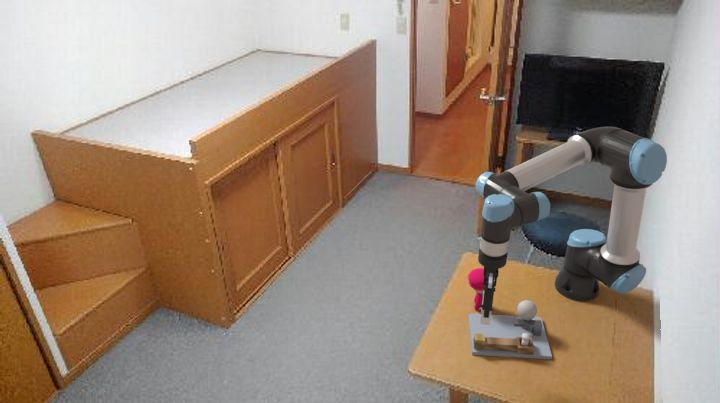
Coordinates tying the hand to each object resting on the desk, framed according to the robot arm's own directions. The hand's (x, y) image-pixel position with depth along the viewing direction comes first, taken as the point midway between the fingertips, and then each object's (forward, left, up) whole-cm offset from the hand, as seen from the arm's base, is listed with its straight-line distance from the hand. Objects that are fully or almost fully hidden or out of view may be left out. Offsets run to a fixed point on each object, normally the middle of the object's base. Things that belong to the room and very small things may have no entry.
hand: (485, 316), depth 157 cm
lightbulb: (-16, -17, -19) cm, 30 cm away
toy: (-2, -27, -19) cm, 33 cm away
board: (-10, -13, -19) cm, 25 cm away
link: (-7, -6, -17) cm, 20 cm away
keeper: (-16, -14, -19) cm, 28 cm away
